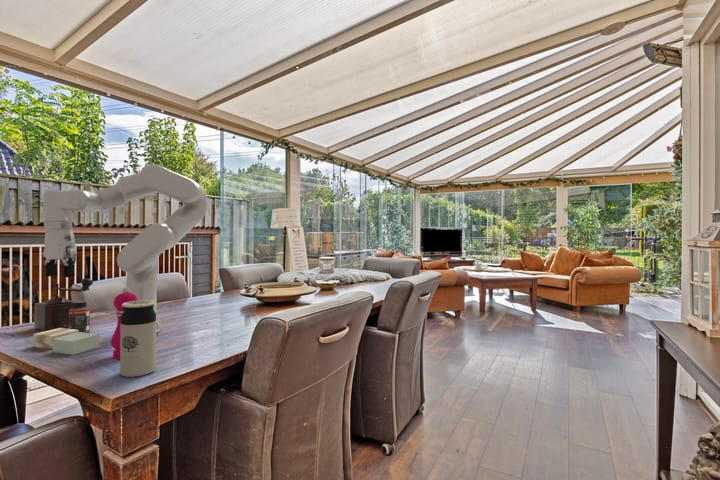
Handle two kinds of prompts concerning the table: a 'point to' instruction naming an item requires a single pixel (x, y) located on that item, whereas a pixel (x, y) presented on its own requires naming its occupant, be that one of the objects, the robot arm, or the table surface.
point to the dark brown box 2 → (56, 309)
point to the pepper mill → (118, 304)
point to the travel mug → (137, 338)
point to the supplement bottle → (79, 317)
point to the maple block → (51, 337)
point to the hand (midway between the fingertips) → (60, 276)
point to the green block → (75, 343)
